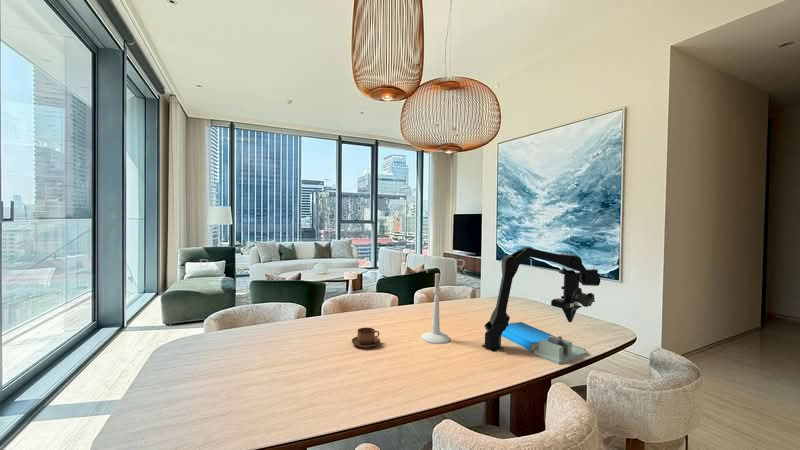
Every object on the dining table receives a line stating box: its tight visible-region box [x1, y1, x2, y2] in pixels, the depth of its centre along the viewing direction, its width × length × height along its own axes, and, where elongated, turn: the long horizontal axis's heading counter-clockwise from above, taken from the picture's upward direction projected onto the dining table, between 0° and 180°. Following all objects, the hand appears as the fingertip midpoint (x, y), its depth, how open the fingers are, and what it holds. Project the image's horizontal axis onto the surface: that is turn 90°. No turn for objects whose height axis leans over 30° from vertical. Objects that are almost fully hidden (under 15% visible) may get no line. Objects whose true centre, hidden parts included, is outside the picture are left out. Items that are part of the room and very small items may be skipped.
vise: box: [533, 339, 589, 365], centre depth 138 cm, size 20×11×6 cm, turn 122°
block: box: [549, 335, 563, 346], centre depth 136 cm, size 3×4×6 cm
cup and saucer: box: [351, 327, 381, 348], centre depth 144 cm, size 12×12×6 cm
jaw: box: [548, 335, 573, 356], centre depth 138 cm, size 3×9×6 cm, turn 32°
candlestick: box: [420, 272, 451, 345], centre depth 152 cm, size 13×13×30 cm
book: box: [501, 321, 557, 352], centre depth 156 cm, size 17×4×25 cm
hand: (570, 322), depth 141 cm, fingers closed
